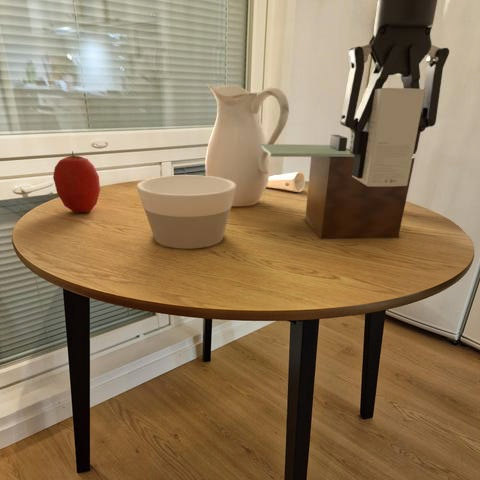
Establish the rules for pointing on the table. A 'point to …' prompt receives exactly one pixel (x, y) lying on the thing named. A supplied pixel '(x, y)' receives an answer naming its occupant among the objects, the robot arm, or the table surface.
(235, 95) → the pitcher
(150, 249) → the table surface
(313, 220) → the case
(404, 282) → the table surface
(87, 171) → the apple
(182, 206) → the bowl
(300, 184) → the long cone
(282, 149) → the sliding box lid
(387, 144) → the small box
